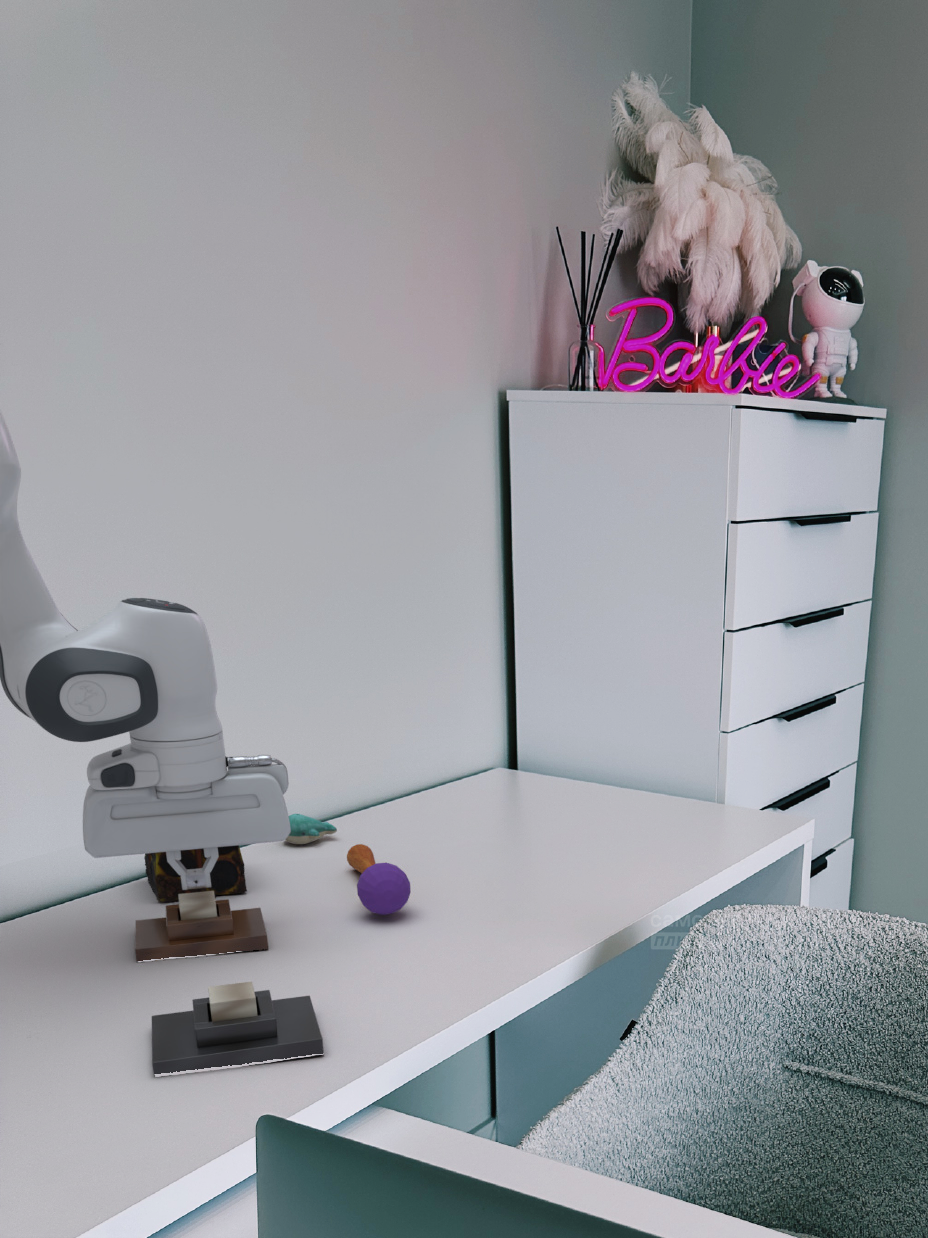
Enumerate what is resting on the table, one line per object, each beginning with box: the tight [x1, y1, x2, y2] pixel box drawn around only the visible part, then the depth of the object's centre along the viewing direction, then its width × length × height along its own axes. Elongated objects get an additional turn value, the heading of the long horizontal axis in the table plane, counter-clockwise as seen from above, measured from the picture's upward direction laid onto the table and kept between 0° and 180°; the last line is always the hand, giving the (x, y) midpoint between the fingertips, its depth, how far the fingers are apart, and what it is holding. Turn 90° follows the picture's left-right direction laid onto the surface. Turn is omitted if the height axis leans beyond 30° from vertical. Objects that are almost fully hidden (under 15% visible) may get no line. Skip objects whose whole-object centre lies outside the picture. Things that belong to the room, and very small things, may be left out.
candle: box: [143, 845, 248, 903], centre depth 150 cm, size 10×10×10 cm
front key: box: [207, 981, 258, 1022], centre depth 112 cm, size 4×4×2 cm
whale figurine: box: [284, 813, 338, 845], centre depth 171 cm, size 6×7×4 cm
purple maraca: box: [346, 843, 412, 916], centre depth 151 cm, size 6×6×20 cm
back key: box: [178, 891, 217, 920], centre depth 134 cm, size 4×4×2 cm
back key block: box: [134, 898, 269, 962], centre depth 135 cm, size 13×9×4 cm
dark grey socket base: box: [151, 989, 325, 1075], centre depth 113 cm, size 14×10×4 cm
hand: (196, 887), depth 134 cm, fingers closed
